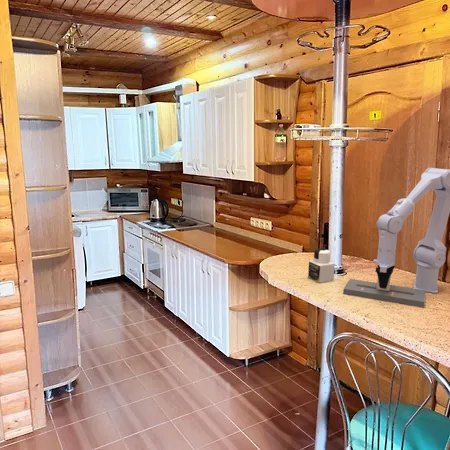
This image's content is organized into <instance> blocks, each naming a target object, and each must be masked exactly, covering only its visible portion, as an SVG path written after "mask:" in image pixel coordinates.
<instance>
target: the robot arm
mask: <svg viewBox="0 0 450 450" xmlns="http://www.w3.org/2000/svg"><path fill="white" fill-rule="evenodd" d="M430 191H433V192H434V193H435V195H436V197H435V200H434V205H433V209H432V213H431V216H430V219H429V223H428V226H427V230H426V233H425V236H424V238H422V239H420V240H419V241H418V242H417V245H416V247H415V248H414V250H413V252H412V253H413V254H412V255H413V259H414V260H415V263H416V264H417V265H416V274H415V281H413V288H414V289H420V290H426V291H425V293H426V292H428V293H432V294H438V293H439V292H438V291H439V287H438V278H439V273H440V272H439V270H440V268H442V267H443V265H444V264H445V262H446V258H447V257H446V256H447V255H446V253H447V247H446V246H445V244H444V243H443V241H442V240H443V237H444V233H445V231H446V227H447V223H448V219H449V217H450V168H449V169H448V168H447V169H446V168H436V167H428V168H426V169H425V171H424V172H423V173H422V174H420V180H419V182H418V183H417V184H416V185H415V187H413V189H412V190H411V191H410V192H409V194H408V195H407V196H406V198H400V199H398V200H397V201H396V203H395V204H394V205H393V207H392V208H390V209H389V211H387V212H386V213H384V214H382V215H380V216H379V217H378V219H377V221H376V223H375V224H376V228H377V229H378V230H377V231H378V232H377V233H378V235H379V236H378V248H377V257H376V259H373V263H376V264H377V267H375V272H376V274H377V275H376V276H377V280H378V279H379V286H380V288H384V289H386V287H387V284H388V281H389V278H390V276H391V277H392V274H393V272H394V269H395V267H396V266H395V265H396V252H397V251H396V250H397V241H398V233H399V232H400V231H402V228H403V225H404V223H405V220H406V219H407V218H408V217H409V216H410V215H411V214H412V213H413V212H414V210H415V205H416V204H417V202H419V201H420V200H421V199H422V198H423V197H425V195H427V193H428V192H430Z"/></svg>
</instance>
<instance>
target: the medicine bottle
mask: <svg viewBox="0 0 450 450" xmlns="http://www.w3.org/2000/svg"><path fill="white" fill-rule="evenodd" d="M307 274H308V276H307V277H308V278H309V279H310V280H312V281H314V282H317V283H318V284H321V283H327V282H333V281H334V278H335V263H334V262H332V261H331V251H330V250H329V249H328V248H317V249H314V251H313V259H312V260H309V261H308V271H307Z"/></svg>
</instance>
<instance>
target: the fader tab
mask: <svg viewBox="0 0 450 450" xmlns="http://www.w3.org/2000/svg"><path fill="white" fill-rule="evenodd" d="M391 280H392V275H391V276H390V278H389V281H388V284H387V287H386V289H384V288H380V286H379V279H378V278H377V282H376V283H377V289H379V290H385V291H389V289H390V285H391Z"/></svg>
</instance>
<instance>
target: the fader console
mask: <svg viewBox="0 0 450 450" xmlns="http://www.w3.org/2000/svg"><path fill="white" fill-rule="evenodd" d="M345 284H346V285H344V287H343V293H342V294H343V295H347V296H352V297H359V298H365V299H371V300H377V301H381V302H382V301H383V302H388V303H393V304H394V303H395V304H399V305H406V306H411V307H412V306H413V307H416V308H417V307H418V308H424V309H425V302H426V290H420V289H414V288H412V287H406V286H399V285H394V284H390V289H389V291H385V290H379V289H377V282H374V281H367V280H361V279H360V280H359V279H355V278H349V279H348V281H347V283H345Z"/></svg>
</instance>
